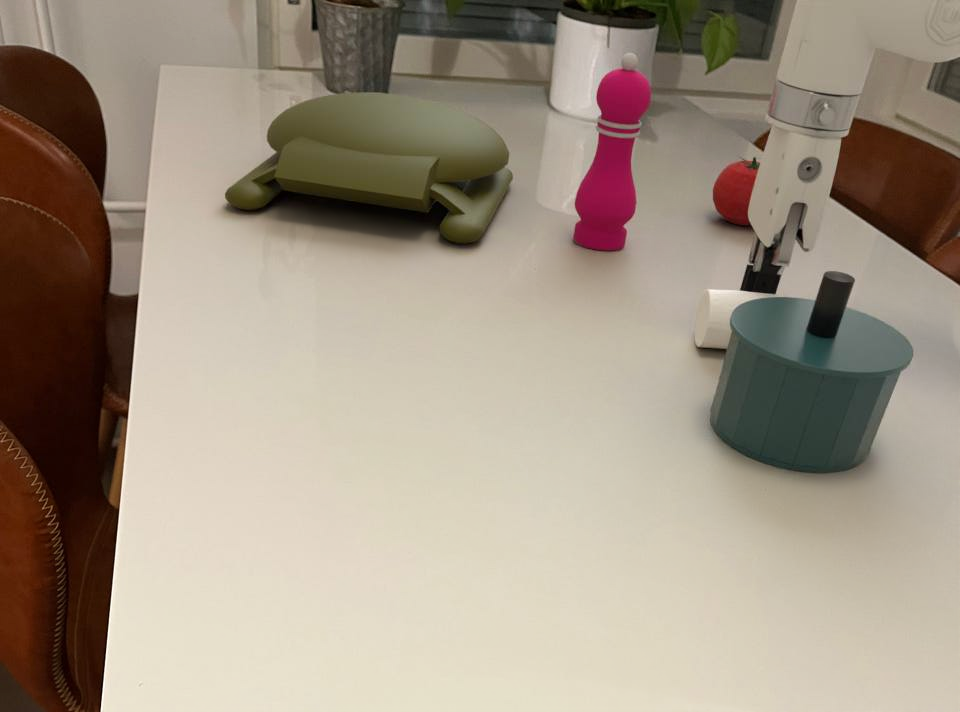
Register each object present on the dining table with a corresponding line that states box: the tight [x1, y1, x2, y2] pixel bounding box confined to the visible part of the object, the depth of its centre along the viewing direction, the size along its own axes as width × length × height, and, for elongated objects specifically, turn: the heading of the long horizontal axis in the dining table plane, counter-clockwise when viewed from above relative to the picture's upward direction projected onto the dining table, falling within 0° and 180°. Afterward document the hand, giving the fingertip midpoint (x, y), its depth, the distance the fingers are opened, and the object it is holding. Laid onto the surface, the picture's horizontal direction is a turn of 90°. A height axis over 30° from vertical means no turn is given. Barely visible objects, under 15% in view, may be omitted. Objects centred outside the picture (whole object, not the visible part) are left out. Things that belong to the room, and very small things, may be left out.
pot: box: [709, 331, 902, 474], centre depth 82 cm, size 14×14×8 cm
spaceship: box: [224, 91, 514, 245], centre depth 124 cm, size 35×31×10 cm
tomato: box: [712, 156, 761, 226], centre depth 128 cm, size 9×9×8 cm
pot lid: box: [730, 270, 914, 378], centre depth 78 cm, size 15×15×6 cm
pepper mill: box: [573, 52, 652, 252], centre depth 112 cm, size 7×7×20 cm
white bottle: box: [694, 288, 788, 350], centre depth 96 cm, size 6×12×6 cm, turn 88°
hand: (752, 307), depth 100 cm, fingers closed
